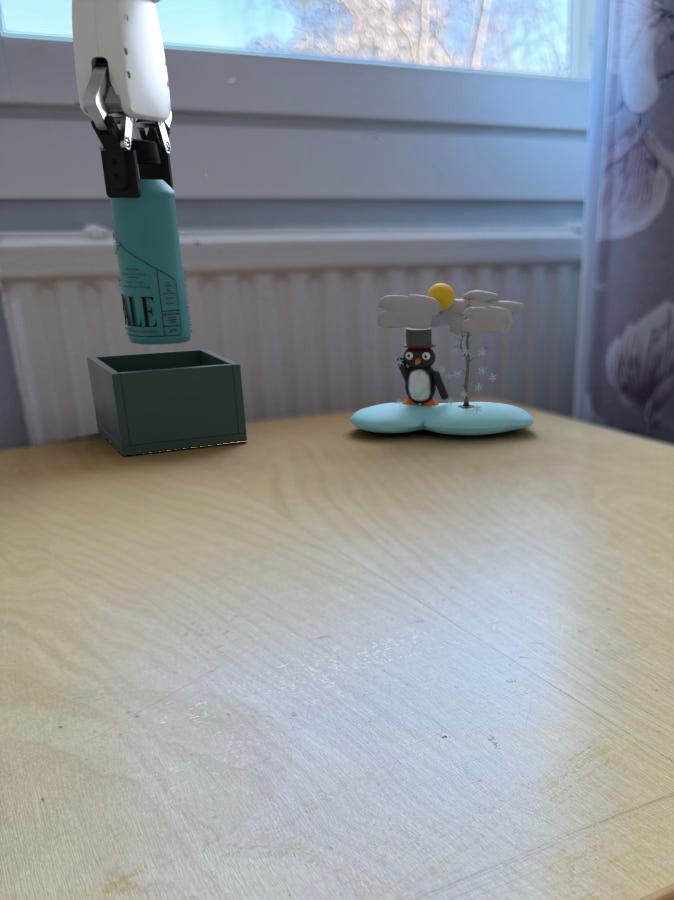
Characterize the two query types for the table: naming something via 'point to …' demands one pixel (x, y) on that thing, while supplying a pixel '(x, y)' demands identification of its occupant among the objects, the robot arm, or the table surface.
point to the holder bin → (167, 400)
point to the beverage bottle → (151, 259)
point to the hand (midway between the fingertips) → (141, 195)
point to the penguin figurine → (423, 380)
